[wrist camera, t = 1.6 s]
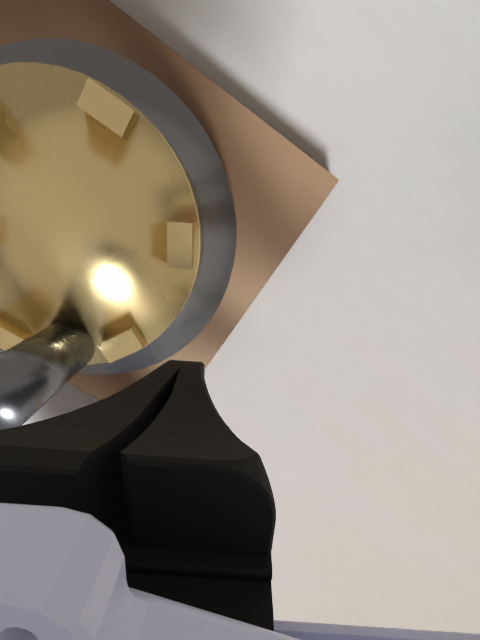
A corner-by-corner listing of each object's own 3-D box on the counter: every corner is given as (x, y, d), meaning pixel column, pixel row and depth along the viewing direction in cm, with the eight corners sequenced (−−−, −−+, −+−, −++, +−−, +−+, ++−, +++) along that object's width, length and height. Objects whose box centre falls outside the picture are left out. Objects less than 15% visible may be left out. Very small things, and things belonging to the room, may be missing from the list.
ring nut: (130, 391, 17) (63, 490, 11) (-90, 268, 15) (-323, 304, 9) (254, 195, 14) (261, 177, 8) (-5, 6, 12) (-283, -226, 6)
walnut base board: (165, 418, 21) (159, 432, 20) (-97, 273, 18) (-125, 278, 17) (331, 183, 16) (339, 180, 15) (10, -65, 14) (-17, -98, 12)
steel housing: (150, 404, 19) (142, 419, 18) (-91, 271, 17) (-122, 275, 15) (295, 189, 15) (301, 186, 14) (6, -29, 13) (-25, -60, 11)
